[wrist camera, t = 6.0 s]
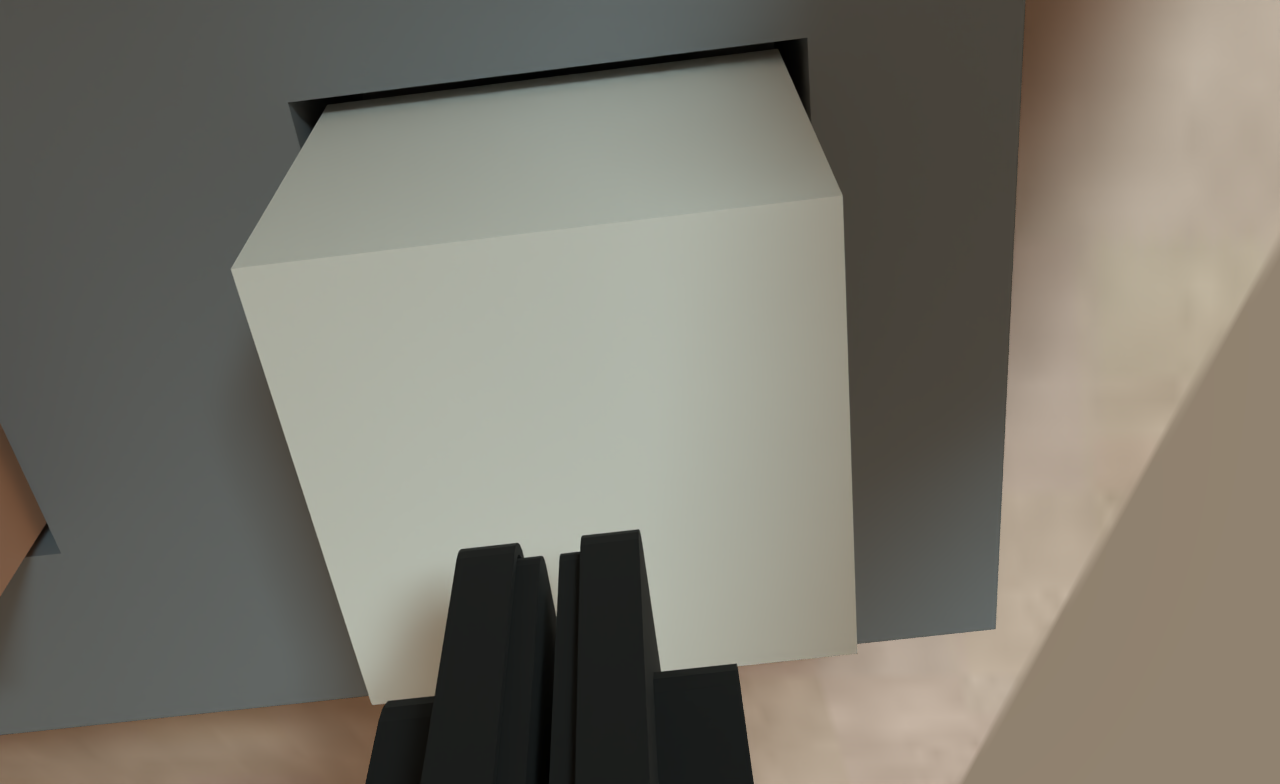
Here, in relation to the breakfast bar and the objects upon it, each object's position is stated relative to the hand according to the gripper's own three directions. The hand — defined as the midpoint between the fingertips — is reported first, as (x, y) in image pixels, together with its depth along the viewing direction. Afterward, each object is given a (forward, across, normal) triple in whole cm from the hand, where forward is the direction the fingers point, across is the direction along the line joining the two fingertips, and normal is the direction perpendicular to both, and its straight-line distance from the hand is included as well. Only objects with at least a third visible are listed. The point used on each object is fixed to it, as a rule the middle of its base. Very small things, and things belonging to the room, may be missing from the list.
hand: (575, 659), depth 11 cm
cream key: (+7, 0, 0) cm, 7 cm away
